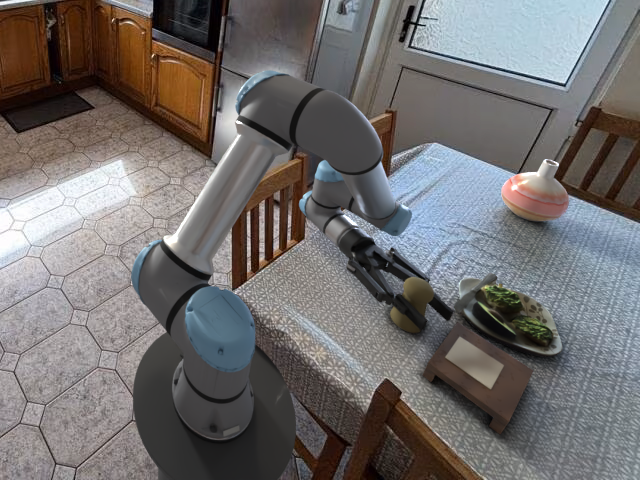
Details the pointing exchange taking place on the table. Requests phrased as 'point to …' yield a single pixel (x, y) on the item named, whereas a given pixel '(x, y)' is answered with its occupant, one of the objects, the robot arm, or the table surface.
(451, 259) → the table surface
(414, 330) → the cork
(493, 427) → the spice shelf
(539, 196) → the vase
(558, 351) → the salad plate
